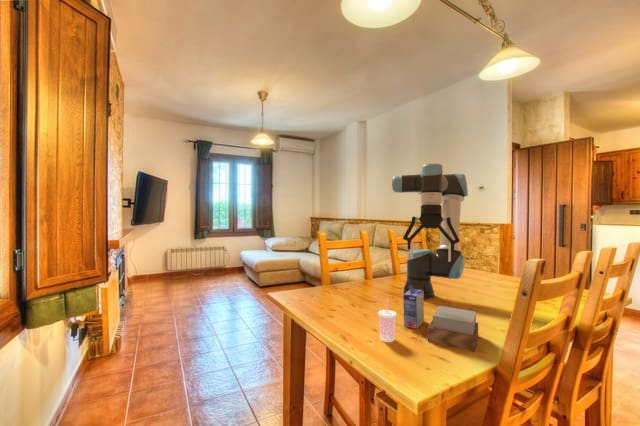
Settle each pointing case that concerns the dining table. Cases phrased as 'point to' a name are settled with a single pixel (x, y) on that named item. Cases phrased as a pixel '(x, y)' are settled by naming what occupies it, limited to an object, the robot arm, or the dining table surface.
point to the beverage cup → (387, 324)
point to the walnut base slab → (453, 338)
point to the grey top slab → (454, 320)
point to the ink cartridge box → (413, 307)
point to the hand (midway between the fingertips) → (430, 259)
